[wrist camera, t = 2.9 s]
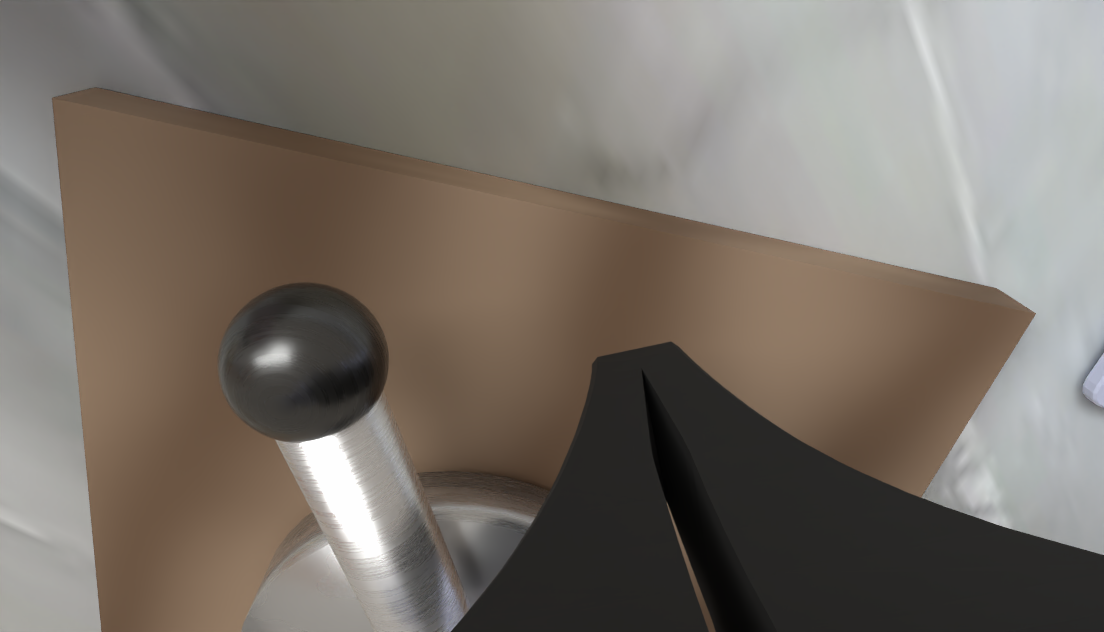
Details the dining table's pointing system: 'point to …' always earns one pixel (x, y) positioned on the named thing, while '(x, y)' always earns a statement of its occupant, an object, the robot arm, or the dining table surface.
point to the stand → (443, 332)
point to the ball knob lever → (358, 478)
